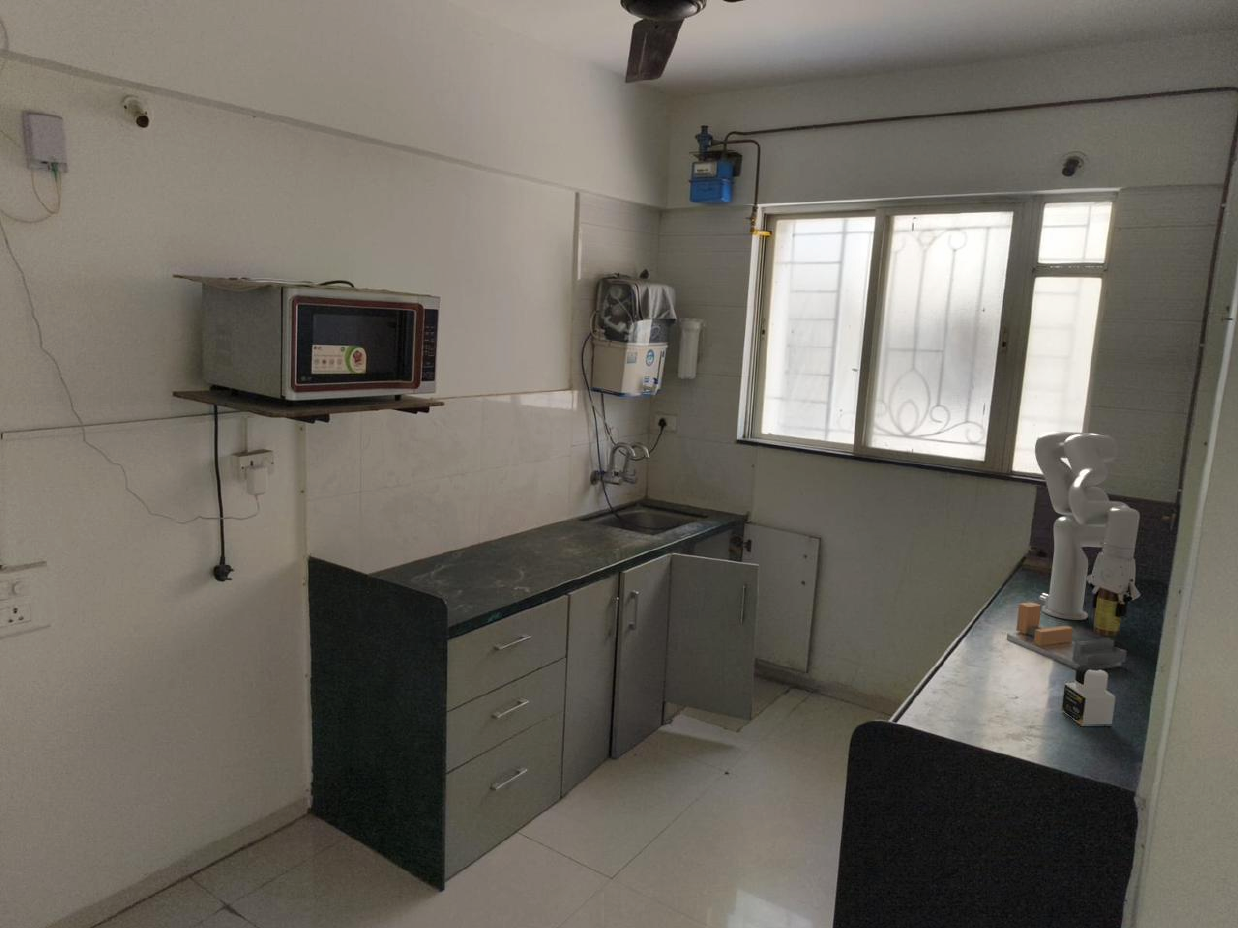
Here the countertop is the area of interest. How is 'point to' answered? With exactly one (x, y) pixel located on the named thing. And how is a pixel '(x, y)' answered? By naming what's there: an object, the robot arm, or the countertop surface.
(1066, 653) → the vise base
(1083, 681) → the medicine bottle
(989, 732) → the countertop surface
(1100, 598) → the sauce bottle
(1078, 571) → the robot arm
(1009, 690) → the countertop surface
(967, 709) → the countertop surface
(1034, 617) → the sliding jaw
